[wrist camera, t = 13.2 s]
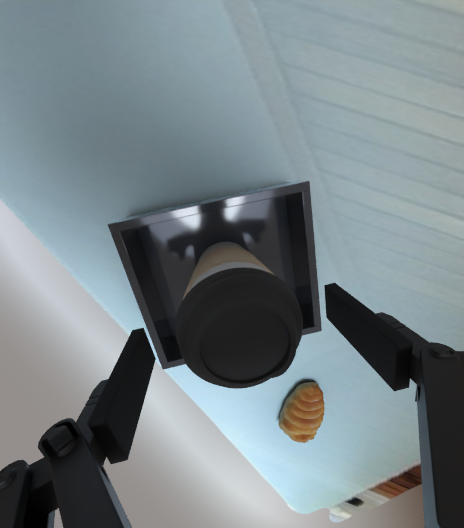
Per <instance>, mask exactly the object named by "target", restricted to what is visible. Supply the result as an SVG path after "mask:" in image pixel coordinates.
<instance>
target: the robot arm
mask: <svg viewBox="0 0 464 528" xmlns="http://www.w3.org/2000/svg"><path fill="white" fill-rule="evenodd" d="M325 300H326V315H327V319H328V320H329V321H330V322H331V323H332V324H333V325H334V326H335V327H336V328H337V329H338V331H339V332H340V333H341V334H342V335H343V336H344V337H345V338H346V339H347V340H348V341H349V343H350V344H351V345H352V346H353V347H354V348H355V349H356V350H357V351H358V352H359V353H360V355H361V356H362V357H363V358H364V359H365V360H366V361H367V362H368V363H369V364H370V365H371V366H372V368H373V369H374V370H375V371H376V372H377V373H378V374H379V375H380V376H381V377H382V378H383V380H384V381H385V382H386V383H387V384H388V385H389V386H390V387H391V388H392V389H393V390H394V391H397V390H401V389H405V388H409V382H410V378H411V379H412V380H413V381H414V382H415V383H416V384H417V388H416V398H415V401H416V402H417V408H418V424H419V441H420V457H421V473H422V487H423V506H424V521H425V528H464V351H455V350H453V349H452V348H450V347H448V346H446V345H443V344H440V343H432V342H430V343H429V342H428V341H426V340H425V339H424V338H422V337H421V336H419V335H418V334H417V333H415V332H414V331H412V330H411V329H409V328H408V327H406V326H405V325H404V324H402V323H400V322H399V321H398V320H397V319H395V318H394V317H392V316H390V315H388V314H385V313H382V312H381V313H377V314H375V313H374V312H373V311H371V310H370V309H369V308H367V307H366V306H365V305H363V304H362V303H361V302H359V301H358V300H357V299H355V298H354V297H353V296H351V295H350V294H349V293H347V292H346V291H345V290H343V289H342V288H341V287H339V286H338V285H337V284H336V283H332V284H328V285H325ZM155 359H156V358H155V356H154V353H153V351H152V348H151V346H150V343H149V341H148V338H147V336H146V333H145V331H144V328H141V329H136V330H132V332H131V334H130V336H129V339H128V341H127V343H126V345H125V347H124V349H123V351H122V353H121V355H120V357H119V359H118V361H117V363H116V365H115V367H114V369H113V371H112V373H111V375H110V377H109V379H107V380H103V381H101V382H100V383H99V384H98V385H97V387H96V388H95V389H94V390H93V392H92V394H91V396H90V397H89V400H88V401H87V403H86V405H85V407H84V409H83V410H82V412H81V414H80V416H79V418H78V420H77V422H75V421H74V420H73V419H71V418H69V419H68V418H67V419H64V420H61V421H59V422H58V423H56V424H54V425H53V426H52V427H51V428H49V429H48V430H47V431H46V432H45V434H44V435H43V436H42V437H41V439H40V441H39V444H38V448H39V450H40V451H41V453H42V454H43V455H44V458H42V459H40V460H38V461H36V462H34V463H33V464H31V465H28V464H27V463H26V462H25V461H24V460H18V461H15V462H13V463H11V464H9V465H8V466H6V467H5V468H3V469H2V470H1V471H0V528H54V517H55V510H56V509H57V508H59V511H60V515H61V519H62V523H63V527H64V528H132V526H131V524H130V522H129V520H128V518H127V516H126V514H125V512H124V509H123V507H122V505H121V503H120V501H119V499H118V497H117V494H116V492H115V490H114V488H113V486H112V484H111V482H110V479H109V478H108V475H107V473H106V471H105V469H104V467H103V464H104V461H105V459H106V457H107V458H108V460H109V462H110V463H111V464H114V463H118V462H122V461H125V460H128V456H129V453H130V449H131V446H132V442H133V438H134V435H135V431H136V428H137V424H138V420H139V417H140V413H141V410H142V406H143V402H144V399H145V395H146V391H147V388H148V384H149V381H150V377H151V373H152V370H153V366H154V363H155Z"/></svg>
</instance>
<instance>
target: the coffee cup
mask: <svg viewBox="0 0 464 528" xmlns="http://www.w3.org/2000/svg"><path fill="white" fill-rule="evenodd" d="M302 331H303V316H302V312H301V308H300V305H299V303H298V300H297V298H296V296H295V294H294V293H293V291H292V290H291V288H290V287H289V286H288V285H287V284H286V283H285V282H284V281H283V280H281V279H280V278H278V277H277V276H275V275H274V274H273V273H272V272H271V271H270V270H269V269H268V268H267V267H266V266H265V265H263V264H262V263H261V262H260V261H259V260H258V259H257V258H256V257H255V256H253V255H252V254H251V253H250V252H248V251H246V250H245V249H244V248H243V247H242V246H240V245H238V244H236V243H233V242H219V243H216V244H214V245H212V246H210V247H209V248H207V249H206V250H205V251H204V252H203V254H202V255H201V257H200V259H199V262H198V264H197V266H196V267H195V270H194V272H193V274H192V277H191V279H190V282H189V284H188V287H187V289H186V292H185V294H184V297H183V301H182V302H181V304H180V307H179V309H178V312H177V315H176V320H175V335H176V339H177V343H178V345H179V349H180V353H181V355H182V358H183V360H184V361H185V363H186V365H187V366H188V367H189V368H190V369H191V371H192V372H194V373H195V374H196V375H197V376H199V377H200V378H202V379H203V380H205V381H207V382H209V383H212V384H215V385H219V386H223V387H227V388H247V387H252V386H255V385H258V384H261V383H263V382H265V381H267V380H268V379H270V378H274V377H277V376H280V375H282V374H283V373H284V372H286V370H287V369H288V368H289V366H290V365H291V363H292V361H293V359H294V357H295V353H296V349H297V347H298V345H299V342H300V339H301V336H302Z"/></svg>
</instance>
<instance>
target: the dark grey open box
mask: <svg viewBox="0 0 464 528" xmlns="http://www.w3.org/2000/svg"><path fill="white" fill-rule="evenodd" d="M108 227H109V229H110V232H111V235H112V237H113V240H114V242H115V245H116V248H117V250H118V253H119V256H120V258H121V261H122V263H123V266H124V269H125V271H126V274H127V277H128V279H129V282H130V285H131V287H132V290H133V292H134V295H135V298H136V300H137V303H138V306H139V308H140V311H141V313H142V316H143V319H144V321H145V324H146V327H147V329H148V332H149V335H150V337H151V340H152V342H153V345H154V348H155V350H156V353H157V356H158V358H159V361H160V364H161V366H162V368H163V369H167V368H171V367H175V366H179V365H183V364H186V363H185V361H184V360H183V358H182V355H181V353H180V349H179V345H178V343H177V339H176V335H175V320H176V315H177V312H178V309H179V307H180V304H181V302H182V301H183V297H184V294H185V292H186V289H187V287H188V284H189V282H190V279H191V277H192V274H193V272H194V270H195V267H196V266H197V264H198V262H199V259H200V257H201V255H202V254H203V252H204V251H205V250H206V249H207V248H209V247H210V246H212V245H214V244H216V243H219V242H233V243H236V244H238V245H240V246H242V247H243V248H244V249H245V250H246V251H248V252H250V253H251V254H252V255H253V256H255V257H256V258H257V259H258V260H259V261H260V262H261V263H262V264H263V265H265V266H266V267H267V268H268V269H269V270H270V271H271V272H272V273H273V274H274V275H275V276H277V277H278V278H280V279H281V280H283V281H284V282H285V283H286V284H287V285H288V286H289V287H290V288H291V290H292V291H293V293H294V294H295V296H296V298H297V300H298V303H299V305H300V308H301V312H302V316H303V331H302V335H306V334H310V333H314V332H318V331H321V330H322V329H321V316H320V304H319V292H318V280H317V268H316V256H315V244H314V232H313V220H312V208H311V196H310V184H309V181H302V182H287V183H282V184H278V185H273V186H268V187H264V188H259V189H254V190H250V191H245V192H240V193H236V194H231V195H226V196H222V197H217V198H212V199H208V200H203V201H198V202H194V203H189V204H184V205H180V206H175V207H170V208H166V209H161V210H156V211H152V212H147V213H142V214H138V215H133V216H129V217H126V218H123V219H121V220H118V221H115V222H113V223H110V224H108Z"/></svg>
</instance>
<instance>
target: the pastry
mask: <svg viewBox="0 0 464 528" xmlns="http://www.w3.org/2000/svg"><path fill="white" fill-rule="evenodd" d="M323 415H324V401H323V392H322V390H321V389H320V388H319V386H318V384H317V383H316V382H315V383H314V382H307V383H303V384H300V385H298V386H297V387H296V388H295V389H294V390H293V392H292V393H291V394H290V395H289V396H288V397H287V399H286V401H285V403H284V405H283V408H282V411H281V412H280V418H279V427H280V428H281V429H282V430H283V431H284V433H286V434H287V435H288V436H289V437H290V438H291V439H292V440H294V441H297V442H303V443H305V442H307V441H308V440H312V439H314V436H315V435H316V431H317V429H318V428H319V427H320V425H321V423H322V421H323Z"/></svg>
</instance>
